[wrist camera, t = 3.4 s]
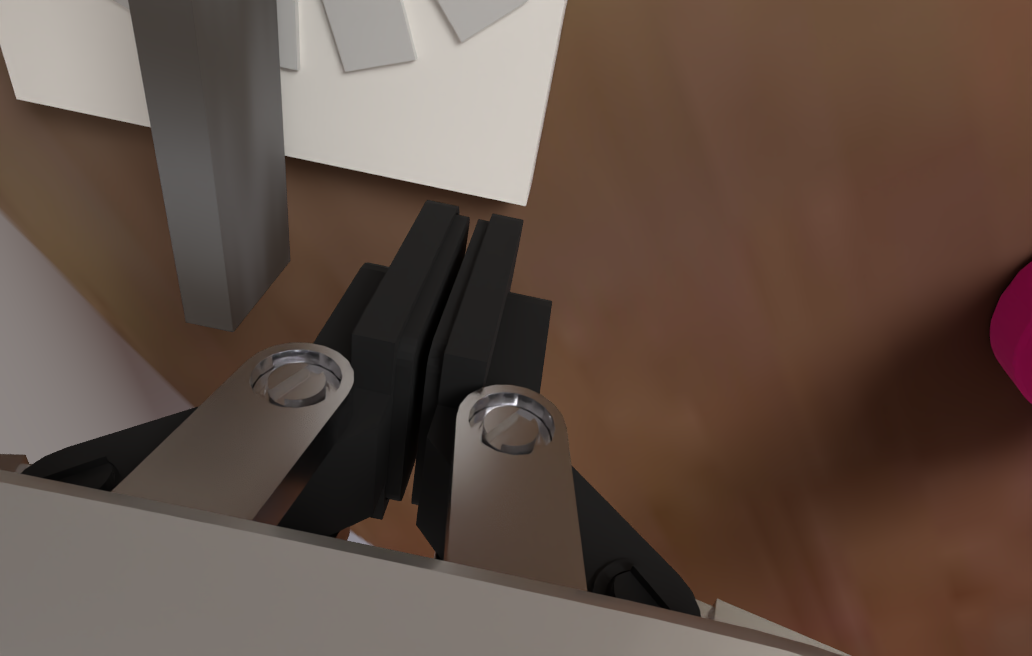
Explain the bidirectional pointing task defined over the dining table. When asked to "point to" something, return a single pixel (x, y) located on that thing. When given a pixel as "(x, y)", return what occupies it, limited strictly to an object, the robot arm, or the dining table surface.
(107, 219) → the dining table surface
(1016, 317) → the pepper mill
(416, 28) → the dial board
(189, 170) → the brown grey handled piece
